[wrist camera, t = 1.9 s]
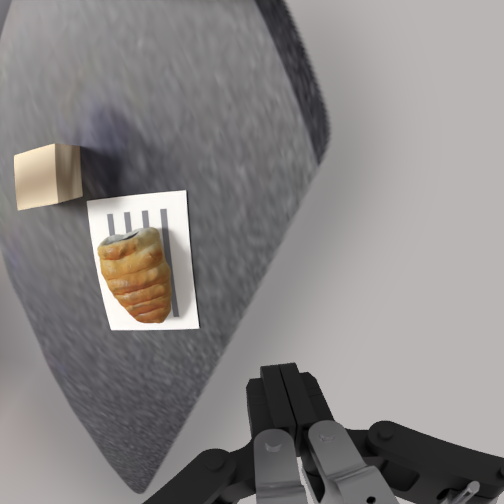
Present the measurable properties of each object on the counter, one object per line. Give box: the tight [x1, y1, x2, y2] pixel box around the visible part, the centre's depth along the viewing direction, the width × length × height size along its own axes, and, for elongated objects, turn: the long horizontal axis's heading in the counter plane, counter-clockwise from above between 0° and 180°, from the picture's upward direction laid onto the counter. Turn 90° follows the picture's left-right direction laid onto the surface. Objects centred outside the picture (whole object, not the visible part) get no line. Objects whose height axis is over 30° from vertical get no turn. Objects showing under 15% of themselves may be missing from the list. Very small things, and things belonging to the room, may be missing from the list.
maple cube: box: [14, 144, 83, 210], centre depth 21 cm, size 5×5×5 cm
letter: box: [87, 191, 199, 330], centre depth 27 cm, size 14×10×1 cm
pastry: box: [97, 227, 172, 324], centre depth 25 cm, size 9×7×4 cm
